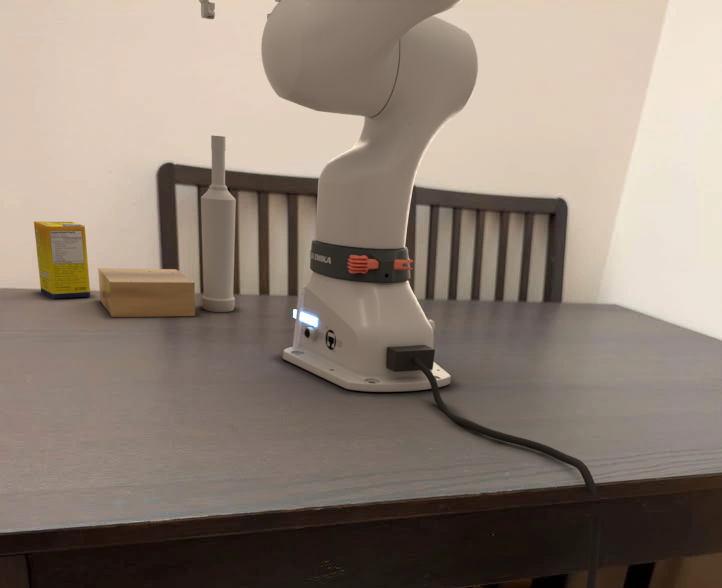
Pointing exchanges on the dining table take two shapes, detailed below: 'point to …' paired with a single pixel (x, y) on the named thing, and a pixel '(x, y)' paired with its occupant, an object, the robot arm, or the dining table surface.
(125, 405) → the dining table surface
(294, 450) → the dining table surface
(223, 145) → the bottle
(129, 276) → the block
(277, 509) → the dining table surface
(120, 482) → the dining table surface
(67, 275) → the supplement box
